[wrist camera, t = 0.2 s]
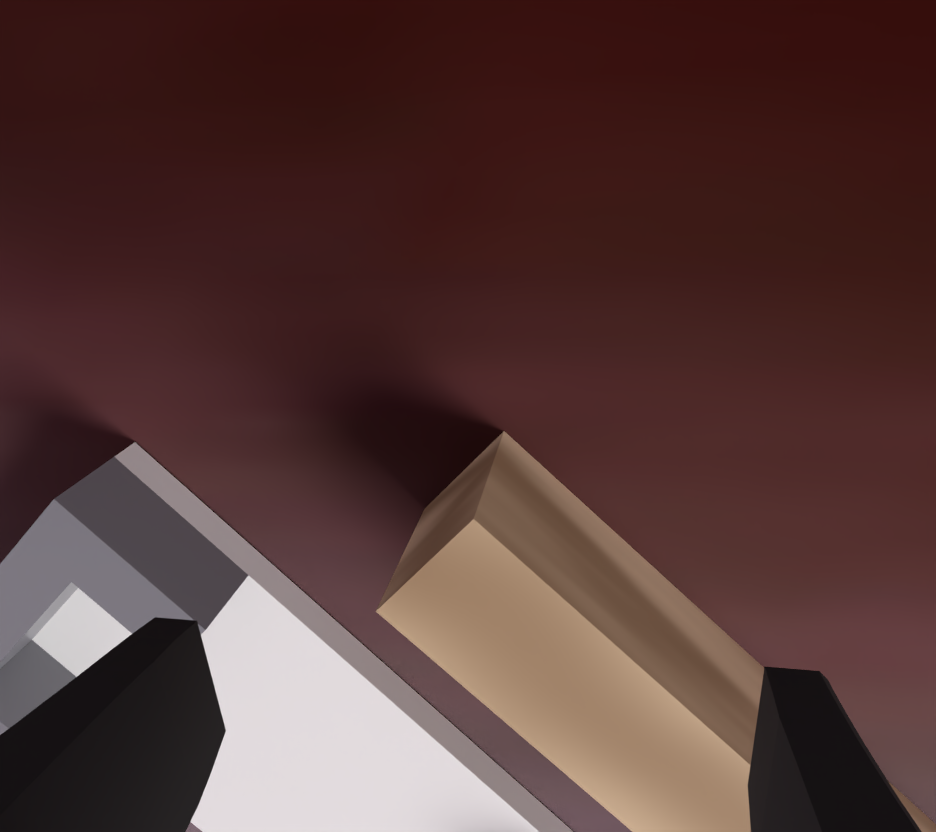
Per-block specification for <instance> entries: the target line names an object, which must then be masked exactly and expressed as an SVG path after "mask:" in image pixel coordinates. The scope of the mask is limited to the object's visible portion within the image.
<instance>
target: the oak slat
mask: <svg viewBox="0 0 936 832" xmlns="http://www.w3.org/2000/svg"><path fill="white" fill-rule="evenodd" d="M376 612H377V613H378V614H380V615H381V616H382V617H383V618H384V619H385V620H387V621H388V622H389V623H390V624H391V625H392V626H394V627H395V628H396V629H397V630H398V631H399V632H401V633H402V634H403V635H404V636H405V637H406V638H408V639H409V640H410V641H411V642H412V643H413V644H415V645H416V646H417V647H418V648H419V649H420V650H422V651H423V652H424V653H425V654H426V655H427V656H429V657H430V658H431V659H432V660H433V661H434V662H436V663H437V664H438V665H439V666H440V667H441V668H443V669H444V670H445V671H446V672H447V673H448V674H449V675H451V676H452V677H453V678H454V679H455V680H456V681H458V682H459V683H460V684H461V685H462V686H463V687H465V688H466V689H467V690H468V691H469V692H470V693H472V694H473V695H474V696H475V697H476V698H477V699H479V700H480V701H481V702H482V703H483V704H484V705H486V706H487V707H488V708H489V709H490V710H491V711H493V712H494V713H495V714H496V715H497V716H498V717H500V718H501V719H502V720H503V721H504V722H505V723H507V724H508V725H509V726H510V727H511V728H512V729H514V730H515V731H516V732H517V733H518V734H519V735H521V736H522V737H523V738H524V739H525V740H526V741H528V742H529V743H530V744H531V745H532V746H533V747H535V748H536V749H537V750H538V751H539V752H540V753H541V754H543V755H544V756H545V757H546V758H547V759H548V760H550V761H551V762H552V763H553V764H554V765H555V766H557V767H558V768H559V769H560V770H561V771H562V772H564V773H565V774H566V775H567V776H568V777H569V778H571V779H572V780H573V781H574V782H575V783H576V784H578V785H579V786H580V787H581V788H582V789H583V790H585V791H586V792H587V793H588V794H589V795H590V796H592V797H593V798H594V799H595V800H596V801H597V802H599V803H600V804H601V805H602V806H603V807H604V808H606V809H607V810H608V811H609V812H610V813H611V814H613V815H614V816H615V817H616V818H617V819H618V820H620V821H621V822H622V823H623V824H624V825H625V826H627V827H628V828H629V829H630V830H631V831H632V832H751V825H750V812H749V798H748V779H749V772H750V765H751V758H752V751H753V744H754V737H755V730H756V723H757V716H758V709H759V702H760V695H761V688H762V681H763V674H764V668H763V667H762V666H761V665H760V664H759V663H758V662H757V661H756V660H755V659H754V658H752V657H751V656H750V655H749V654H748V653H747V652H746V651H745V650H744V649H743V648H742V647H740V646H739V645H738V644H737V643H736V642H735V641H734V640H733V639H732V638H731V637H729V636H728V635H727V634H726V633H725V632H724V631H723V630H722V629H721V628H720V627H718V626H717V625H716V624H715V623H714V622H713V621H712V620H711V619H710V618H709V617H707V616H706V615H705V614H704V613H703V612H702V611H701V610H700V609H699V608H698V607H697V606H695V605H694V604H693V603H692V602H691V601H690V600H689V599H688V598H687V597H686V596H684V595H683V594H682V593H681V592H680V591H679V590H678V589H677V588H676V587H675V586H673V585H672V584H671V583H670V582H669V581H668V580H667V579H666V578H665V577H664V576H662V575H661V574H660V573H659V572H658V571H657V570H656V569H655V568H654V567H653V566H652V565H650V564H649V563H648V562H647V561H646V560H645V559H644V558H643V557H642V556H641V555H639V554H638V553H637V552H636V551H635V550H634V549H633V548H632V547H631V546H630V545H628V544H627V543H626V542H625V541H624V540H623V539H622V538H621V537H620V536H619V535H617V534H616V533H615V532H614V531H613V530H612V529H611V528H610V527H609V526H608V525H607V524H605V523H604V522H603V521H602V520H601V519H600V518H599V517H598V516H597V515H596V514H594V513H593V512H592V511H591V510H590V509H589V508H588V507H587V506H586V505H585V504H583V503H582V502H581V501H580V500H579V499H578V498H577V497H576V496H575V495H574V494H572V493H571V492H570V491H569V490H568V489H567V488H566V487H565V486H564V485H563V484H562V483H560V482H559V481H558V480H557V479H556V478H555V477H554V476H553V475H552V474H551V473H549V472H548V471H547V470H546V469H545V468H544V467H543V466H542V465H541V464H540V463H538V462H537V461H536V460H535V459H534V458H533V457H532V456H531V455H530V454H529V453H527V452H526V451H525V450H524V449H523V448H522V447H521V446H520V445H519V444H518V443H517V442H515V441H514V440H513V439H512V438H511V437H510V436H509V435H508V434H507V433H506V432H503V433H501V434H500V435H499V436H498V437H497V438H496V439H495V440H494V441H493V442H492V443H491V444H490V445H489V446H488V447H487V448H486V449H485V450H484V451H483V452H482V453H481V454H480V455H479V456H478V457H477V458H476V459H475V460H474V461H473V462H472V463H471V464H470V465H469V466H468V467H467V468H466V469H465V470H464V471H463V472H462V473H461V474H460V475H459V476H458V477H457V478H455V479H454V480H453V481H452V482H451V483H450V484H449V485H448V486H447V487H446V488H445V489H444V490H443V491H442V492H441V493H440V494H439V495H438V496H437V497H436V498H435V499H434V500H433V501H432V502H431V503H430V504H429V505H428V506H427V507H426V508H425V509H424V511H423V513H422V515H421V517H420V519H419V522H418V524H417V526H416V528H415V530H414V532H413V534H412V536H411V538H410V540H409V543H408V545H407V547H406V549H405V551H404V553H403V555H402V557H401V559H400V562H399V564H398V566H397V568H396V570H395V572H394V574H393V576H392V578H391V580H390V583H389V585H388V587H387V589H386V591H385V593H384V595H383V597H382V599H381V602H380V604H379V606H378V608H377V610H376ZM887 781H888V780H887ZM888 782H889V781H888ZM889 784H890V785H891V787H892V788H893V790H894V791H895V793H896V794H897V796H898V798H899V799H900V801H901V802H902V803H903V805H904V806H905V808H906V809H907V811H908V812H909V814H910V815H911V817H912V818H913V820H914V821H915V822H916V824H917V825H918V827H919V828H920V830H921V831H922V832H936V824H935V823H934V822H933V821H931V820H930V819H929V818H928V817H927V816H926V815H925V814H924V813H923V812H922V811H920V810H919V809H918V808H917V807H916V806H915V805H914V804H913V803H912V802H911V801H909V800H908V799H907V798H906V797H905V796H904V795H903V794H902V793H901V792H900V791H898V790H897V789H896V788H895V787H894V786H893V785H892V784H891V783H890V782H889Z"/></svg>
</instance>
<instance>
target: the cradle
mask: <svg viewBox="0 0 936 832" xmlns="http://www.w3.org/2000/svg"><path fill="white" fill-rule="evenodd" d="M155 617H158V618H170V619H183V620H195V621H197V622H198V626H199V630H200V634H201V638H202V641H203V645H204V649H205V653H206V657H207V660H208V664H209V668H210V672H211V676H212V679H213V683H214V687H215V691H216V695H217V699H218V702H219V706H220V710H221V714H222V718H223V721H224V725H225V729H226V732H225V735H224V738H223V741H222V743H221V746H220V749H219V752H218V755H217V758H216V760H215V763H214V766H213V769H212V772H211V774H210V777H209V779H208V782H207V785H206V787H205V790H204V792H203V795H202V797H201V800H200V803H199V805H198V807H197V809H196V811H195V813H194V815H193V817H192V819H191V821H190V822H191V823H193V824H194V825H195V826H196V827H198V828H199V829H200V830H201V831H202V832H573V831H572V830H571V829H570V828H569V827H568V826H566V825H565V824H564V823H563V822H562V821H561V820H560V819H559V818H557V817H556V816H555V815H554V814H553V813H552V812H551V811H550V810H548V809H547V808H546V807H545V806H544V805H543V804H542V803H541V802H539V801H538V800H537V799H536V798H535V797H534V796H533V795H532V794H530V793H529V792H528V791H527V790H526V789H525V788H524V787H523V786H521V785H520V784H519V783H518V782H517V781H516V780H515V779H514V778H512V777H511V776H510V775H509V774H508V773H507V772H506V771H504V770H503V769H502V768H501V767H500V766H499V765H498V764H497V763H495V762H494V761H493V760H492V759H491V758H490V757H489V756H488V755H486V754H485V753H484V752H483V751H482V750H481V749H480V748H479V747H477V746H476V745H475V744H474V743H473V742H472V741H471V740H470V739H468V738H467V737H466V736H465V735H464V734H463V733H462V732H461V731H459V730H458V729H457V728H456V727H455V726H454V725H453V724H452V723H450V722H449V721H448V720H447V719H446V718H445V717H444V716H443V715H441V714H440V713H439V712H438V711H437V710H436V709H435V708H434V707H432V706H431V705H430V704H429V703H428V702H427V701H426V700H425V699H423V698H422V697H421V696H420V695H419V694H418V693H417V692H416V691H414V690H413V689H412V688H411V687H410V686H409V685H408V684H407V683H405V682H404V681H403V680H402V679H401V678H400V677H399V676H398V675H396V674H395V673H394V672H393V671H392V670H391V669H390V668H389V667H387V666H386V665H385V664H384V663H383V662H382V661H381V660H380V659H378V658H377V657H376V656H375V655H374V654H373V653H372V652H371V651H369V650H368V649H367V648H366V647H365V646H364V645H363V644H362V643H360V642H359V641H358V640H357V639H356V638H355V637H354V636H353V635H351V634H350V633H349V632H348V631H347V630H346V629H345V628H344V627H342V626H341V625H340V624H339V623H338V622H337V621H336V620H335V619H333V618H332V617H331V616H330V615H329V614H328V613H327V612H326V611H324V610H323V609H322V608H321V607H320V606H319V605H318V604H317V603H315V602H314V601H313V600H312V599H311V598H310V597H309V596H308V595H306V594H305V593H304V592H303V591H302V590H301V589H300V588H299V587H297V586H296V585H295V584H294V583H293V582H292V581H291V580H290V579H288V578H287V577H286V576H285V575H284V574H283V573H282V572H280V571H279V570H278V569H277V568H276V567H275V566H274V565H273V564H271V563H270V562H269V561H268V560H267V559H266V558H265V557H264V556H262V555H261V554H260V553H259V552H258V551H257V550H256V549H255V548H253V547H252V546H251V545H250V544H249V543H248V542H247V541H246V540H244V539H243V538H242V537H241V536H240V535H239V534H238V533H237V532H235V531H234V530H233V529H232V528H231V527H230V526H229V525H228V524H226V523H225V522H224V521H223V520H222V519H221V518H220V517H219V516H217V515H216V514H215V513H214V512H213V511H212V510H211V509H210V508H208V507H207V506H206V505H205V504H204V503H203V502H202V501H201V500H199V499H198V498H197V497H196V496H195V495H194V494H193V493H192V492H190V491H189V490H188V489H187V488H186V487H185V486H184V485H183V484H181V483H180V482H179V481H178V480H177V479H176V478H175V477H174V476H172V475H171V474H170V473H169V472H168V471H167V470H166V469H165V468H163V467H162V466H161V465H160V464H159V463H158V462H157V461H156V460H154V459H153V458H152V457H151V456H150V455H149V454H148V453H147V452H145V451H144V450H143V449H142V448H141V447H140V446H139V445H138V444H136V443H135V442H134V443H133V444H132V445H130V446H129V447H127V448H126V449H124V450H123V451H122V452H120V453H119V454H117V455H116V456H114V457H113V458H112V459H110V460H109V461H107V462H106V463H104V464H103V465H102V466H100V467H99V468H97V469H96V470H94V471H93V472H92V473H90V474H89V475H87V476H86V477H85V478H83V479H82V480H80V481H79V482H77V483H76V484H75V485H73V486H72V487H70V488H69V489H67V490H66V491H65V492H63V493H62V494H60V495H59V496H57V497H56V498H55V499H53V501H52V502H51V503H50V504H49V506H48V507H47V508H46V509H45V510H44V512H43V513H42V514H41V515H40V516H39V518H38V519H37V520H36V521H35V522H34V524H33V525H32V526H31V527H30V529H29V530H28V531H27V532H26V533H25V535H24V536H23V537H22V538H21V539H20V541H19V542H18V543H17V544H16V545H15V547H14V548H13V549H12V550H11V552H10V553H9V554H8V555H7V556H6V558H5V559H4V560H3V561H2V562H1V564H0V735H1V734H2V733H4V732H5V731H6V730H8V729H9V728H10V727H12V726H13V725H14V724H16V723H17V722H18V721H19V720H21V719H22V718H23V717H25V716H26V715H27V714H29V713H30V712H31V711H33V710H34V709H35V708H37V707H38V706H39V705H40V704H42V703H43V702H44V701H46V700H47V699H48V698H50V697H51V696H52V695H54V694H55V693H56V692H57V691H59V690H60V689H61V688H63V687H64V686H65V685H67V684H68V683H69V682H71V681H72V680H73V679H74V678H76V677H77V676H78V675H80V674H81V673H82V672H83V671H85V670H86V669H87V668H89V667H90V666H91V665H92V664H94V663H95V662H96V661H98V660H99V659H100V658H101V657H103V656H104V655H105V654H107V653H108V652H109V651H110V650H112V649H113V648H114V647H116V646H117V645H118V644H119V643H121V642H122V641H123V640H125V639H126V638H127V637H129V636H130V635H131V634H133V633H134V632H135V631H137V630H138V629H139V628H141V627H142V626H144V625H145V624H146V623H148V622H149V621H150V620H152V619H153V618H155Z"/></svg>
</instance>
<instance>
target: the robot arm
mask: <svg viewBox="0 0 936 832" xmlns="http://www.w3.org/2000/svg"><path fill="white" fill-rule="evenodd" d="M225 732H226V729H225V725H224V721H223V718H222V714H221V710H220V706H219V702H218V699H217V695H216V691H215V687H214V683H213V679H212V676H211V672H210V668H209V664H208V660H207V657H206V653H205V649H204V645H203V641H202V638H201V634H200V630H199V626H198V622H197V621H195V620H183V619H170V618H158V617H155V618H153V619H152V620H150V621H149V622H148V623H146V624H145V625H144V626H142V627H141V628H139V629H138V630H137V631H135V632H134V633H133V634H131V635H130V636H129V637H127V638H126V639H125V640H123V641H122V642H121V643H119V644H118V645H117V646H116V647H114V648H113V649H112V650H110V651H109V652H108V653H107V654H105V655H104V656H103V657H101V658H100V659H99V660H98V661H96V662H95V663H94V664H92V665H91V666H90V667H89V668H87V669H86V670H85V671H83V672H82V673H81V674H80V675H78V676H77V677H76V678H74V679H73V680H72V681H71V682H69V683H68V684H67V685H65V686H64V687H63V688H61V689H60V690H59V691H57V692H56V693H55V694H54V695H52V696H51V697H50V698H48V699H47V700H46V701H44V702H43V703H42V704H40V705H39V706H38V707H37V708H35V709H34V710H33V711H31V712H30V713H29V714H27V715H26V716H25V717H23V718H22V719H21V720H19V721H18V722H17V723H16V724H14V725H13V726H12V727H10V728H9V729H8V730H6V731H5V732H4V733H2V734H1V735H0V832H185V831H186V829H187V827H188V825H189V823H190V821H191V819H192V817H193V815H194V813H195V811H196V809H197V807H198V805H199V803H200V800H201V797H202V795H203V792H204V790H205V787H206V785H207V782H208V779H209V777H210V774H211V772H212V769H213V766H214V763H215V760H216V758H217V755H218V752H219V749H220V746H221V743H222V741H223V738H224V735H225ZM748 798H749V812H750V825H751V832H922V831H921V830H920V828H919V827H918V825H917V824H916V822H915V821H914V820H913V818H912V817H911V815H910V814H909V812H908V811H907V809H906V808H905V806H904V805H903V803H902V802H901V801H900V799H899V798H898V796H897V794H896V793H895V791H894V790H893V788H892V787H891V785H890V784H889V782H888V781H887V779H886V778H885V776H884V774H883V773H882V771H881V770H880V768H879V766H878V765H877V763H876V762H875V760H874V758H873V757H872V755H871V754H870V752H869V750H868V749H867V747H866V746H865V744H864V742H863V741H862V739H861V737H860V736H859V734H858V732H857V731H856V729H855V727H854V726H853V724H852V722H851V721H850V719H849V717H848V715H847V714H846V712H845V710H844V708H843V707H842V705H841V703H840V701H839V700H838V698H837V696H836V694H835V692H834V691H833V689H832V687H831V685H830V683H829V681H828V680H827V679H826V677H825V676H824V675H823V674H822V673H821V672H820V671H811V670H798V669H786V668H774V667H764V674H763V681H762V688H761V695H760V702H759V709H758V716H757V723H756V730H755V737H754V744H753V751H752V758H751V765H750V772H749V779H748Z"/></svg>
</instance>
